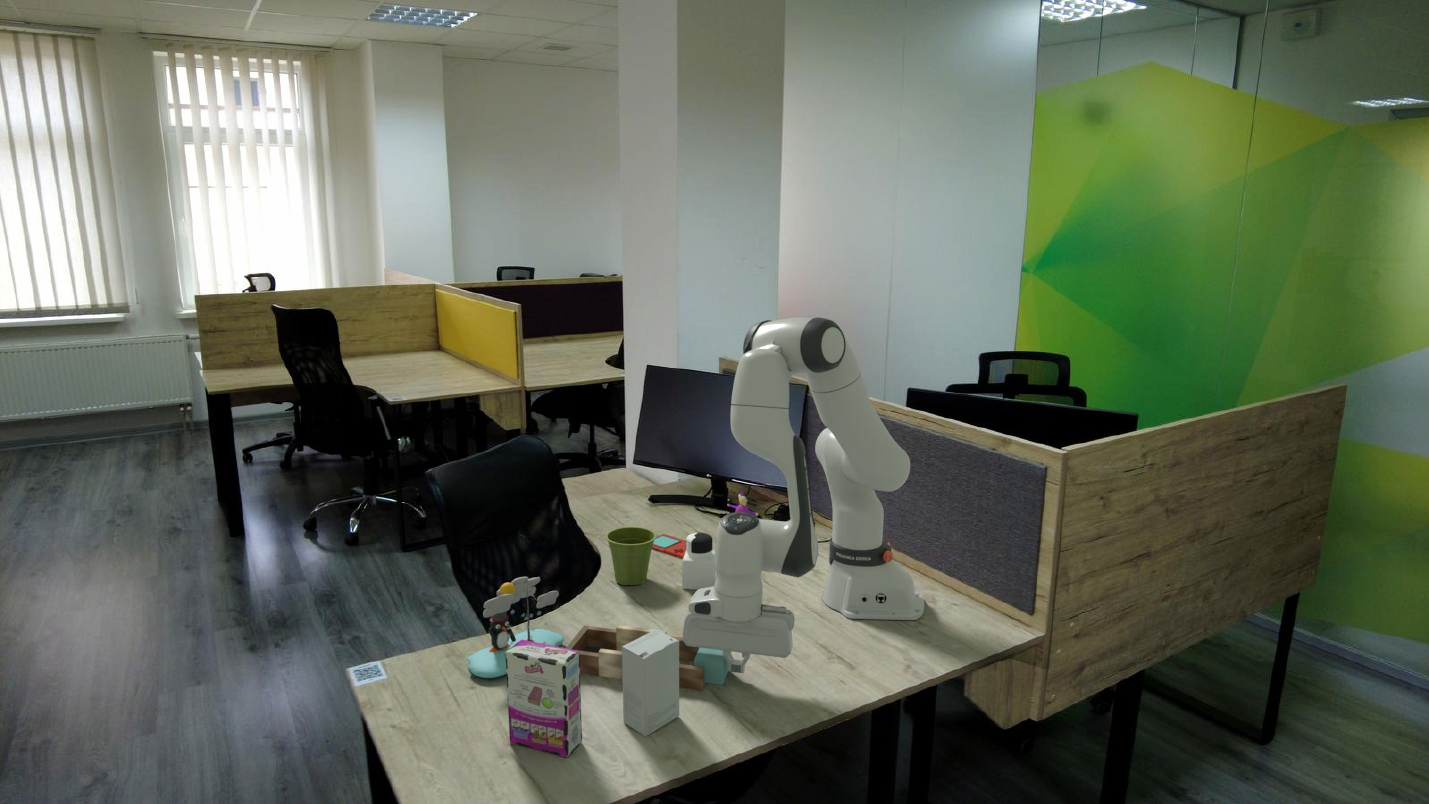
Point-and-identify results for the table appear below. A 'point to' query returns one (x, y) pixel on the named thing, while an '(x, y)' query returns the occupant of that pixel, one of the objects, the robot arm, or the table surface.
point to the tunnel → (605, 653)
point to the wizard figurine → (743, 504)
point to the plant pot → (631, 553)
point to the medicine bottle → (698, 562)
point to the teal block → (712, 665)
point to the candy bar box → (544, 697)
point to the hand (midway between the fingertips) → (736, 671)
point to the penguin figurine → (495, 657)
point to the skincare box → (650, 681)
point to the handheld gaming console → (670, 545)
